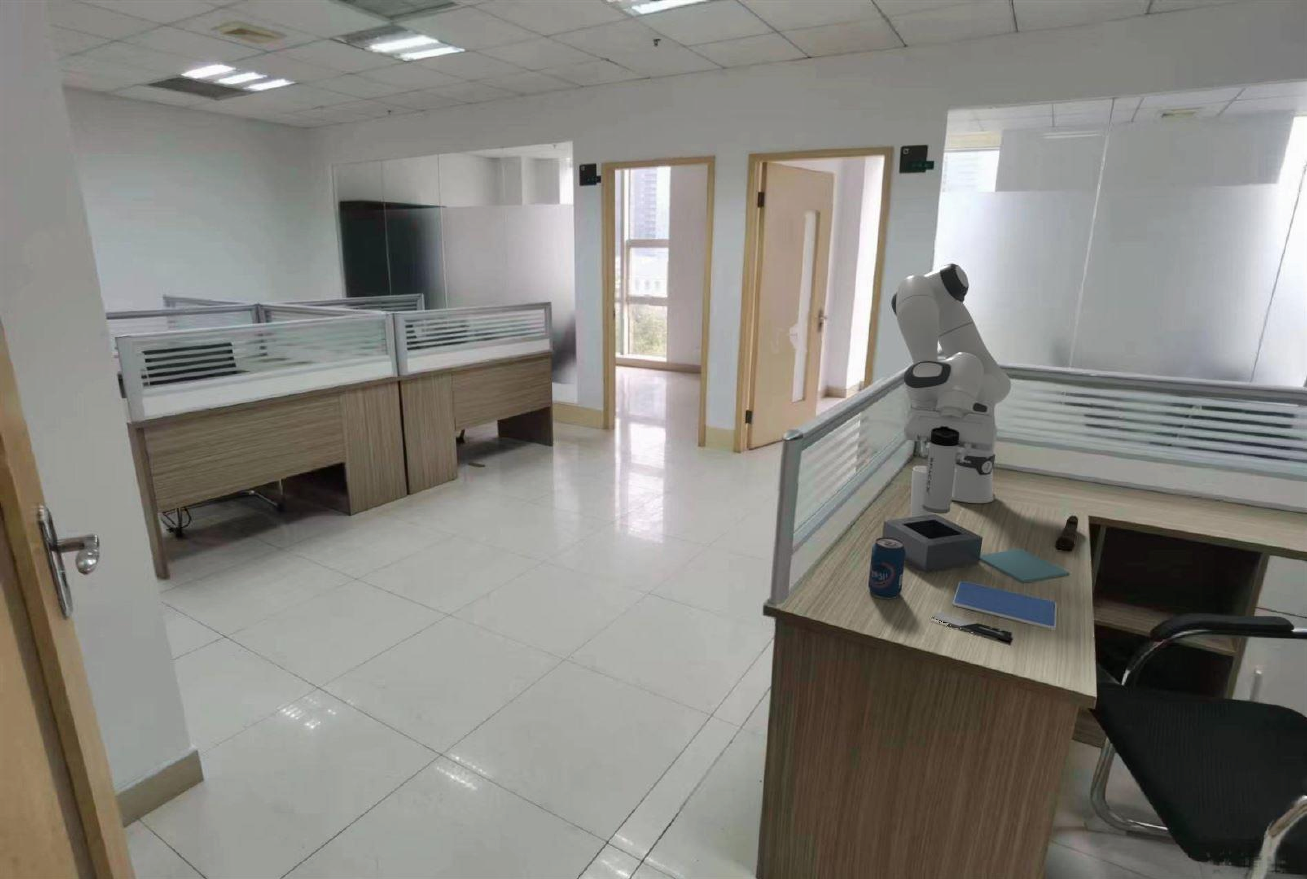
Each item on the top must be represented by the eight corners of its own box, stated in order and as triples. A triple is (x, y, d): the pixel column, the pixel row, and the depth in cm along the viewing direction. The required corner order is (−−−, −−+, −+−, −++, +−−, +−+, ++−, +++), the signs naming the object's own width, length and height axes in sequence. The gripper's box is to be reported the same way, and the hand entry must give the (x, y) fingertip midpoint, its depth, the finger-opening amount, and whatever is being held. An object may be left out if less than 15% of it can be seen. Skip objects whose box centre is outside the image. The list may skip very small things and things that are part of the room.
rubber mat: (976, 558, 167) (976, 555, 167) (1020, 550, 172) (1020, 548, 172) (1022, 583, 155) (1023, 580, 155) (1069, 574, 159) (1069, 572, 159)
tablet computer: (1056, 606, 146) (1057, 600, 145) (1055, 633, 135) (1056, 627, 135) (958, 584, 155) (959, 579, 155) (950, 608, 145) (951, 602, 144)
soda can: (862, 593, 149) (867, 542, 146) (875, 582, 154) (880, 533, 151) (893, 603, 145) (899, 551, 142) (905, 592, 150) (911, 541, 147)
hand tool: (1072, 554, 170) (1075, 537, 169) (1054, 550, 173) (1057, 533, 172) (1083, 532, 185) (1087, 516, 184) (1066, 528, 187) (1069, 512, 186)
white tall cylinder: (933, 518, 193) (939, 467, 189) (932, 526, 187) (938, 474, 183) (908, 514, 196) (914, 464, 192) (906, 522, 190) (911, 470, 186)
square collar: (881, 546, 174) (883, 521, 172) (932, 538, 179) (935, 513, 177) (924, 573, 159) (927, 545, 157) (978, 564, 164) (982, 537, 162)
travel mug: (948, 506, 168) (958, 427, 163) (951, 515, 161) (961, 433, 156) (921, 503, 169) (930, 425, 164) (923, 512, 163) (932, 431, 158)
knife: (930, 618, 138) (935, 610, 141) (929, 623, 138) (934, 614, 141) (1010, 642, 130) (1014, 633, 133) (1010, 646, 130) (1013, 637, 133)
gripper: (909, 398, 170) (895, 444, 165) (999, 408, 159) (988, 458, 154) (912, 412, 175) (898, 458, 170) (999, 423, 164) (988, 472, 159)
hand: (941, 458), depth 162 cm, fingers closed on travel mug, 6 cm apart
